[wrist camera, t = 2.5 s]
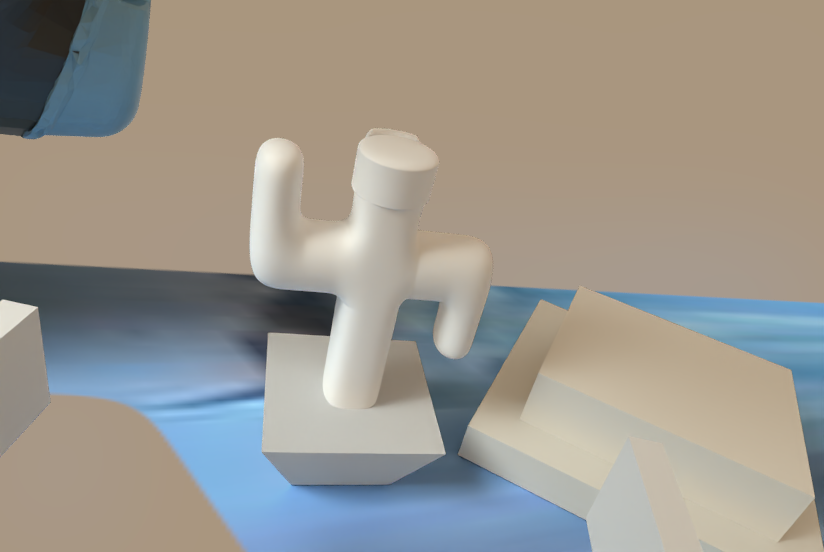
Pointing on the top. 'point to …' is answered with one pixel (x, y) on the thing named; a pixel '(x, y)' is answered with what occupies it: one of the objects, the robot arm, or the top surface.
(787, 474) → the plinth
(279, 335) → the figurine
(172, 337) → the top surface
